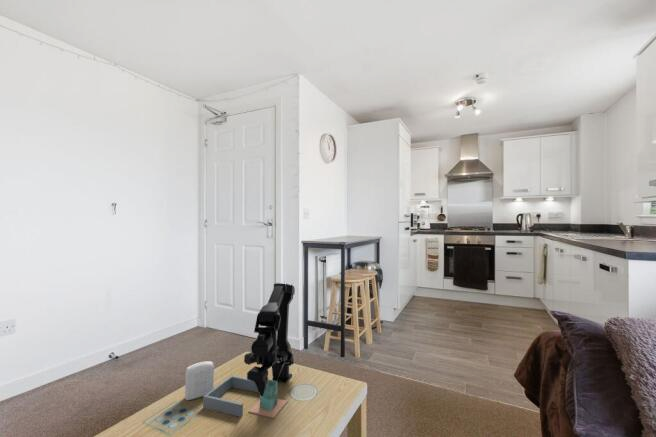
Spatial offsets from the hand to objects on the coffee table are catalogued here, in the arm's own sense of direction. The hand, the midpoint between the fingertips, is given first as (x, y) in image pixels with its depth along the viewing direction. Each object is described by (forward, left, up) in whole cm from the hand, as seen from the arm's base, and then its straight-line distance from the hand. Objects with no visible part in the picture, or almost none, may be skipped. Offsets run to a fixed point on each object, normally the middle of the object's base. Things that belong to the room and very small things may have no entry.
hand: (268, 388), depth 108 cm
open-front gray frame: (0, -14, -6) cm, 15 cm away
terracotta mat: (0, 0, -6) cm, 7 cm away
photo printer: (+2, -29, -7) cm, 30 cm away
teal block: (0, 0, -6) cm, 6 cm away
